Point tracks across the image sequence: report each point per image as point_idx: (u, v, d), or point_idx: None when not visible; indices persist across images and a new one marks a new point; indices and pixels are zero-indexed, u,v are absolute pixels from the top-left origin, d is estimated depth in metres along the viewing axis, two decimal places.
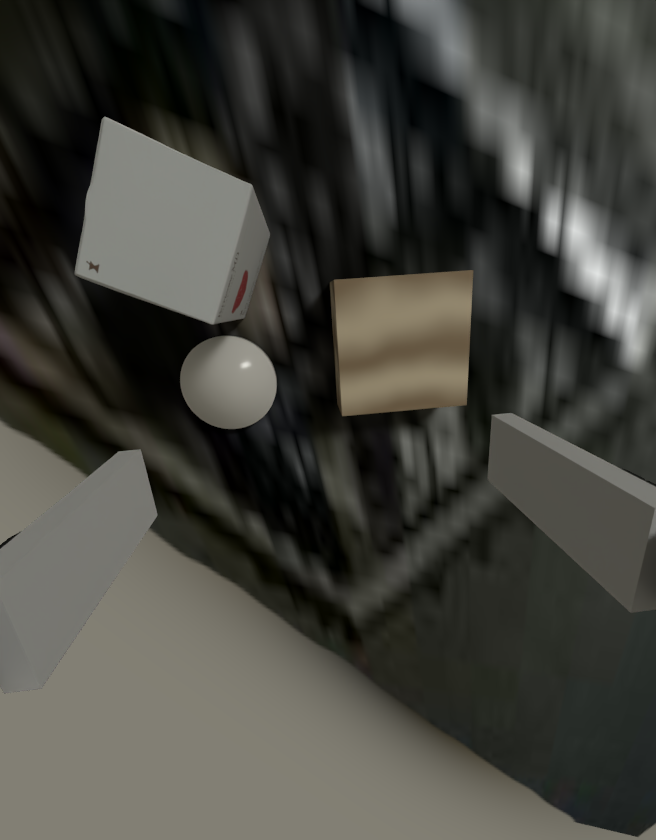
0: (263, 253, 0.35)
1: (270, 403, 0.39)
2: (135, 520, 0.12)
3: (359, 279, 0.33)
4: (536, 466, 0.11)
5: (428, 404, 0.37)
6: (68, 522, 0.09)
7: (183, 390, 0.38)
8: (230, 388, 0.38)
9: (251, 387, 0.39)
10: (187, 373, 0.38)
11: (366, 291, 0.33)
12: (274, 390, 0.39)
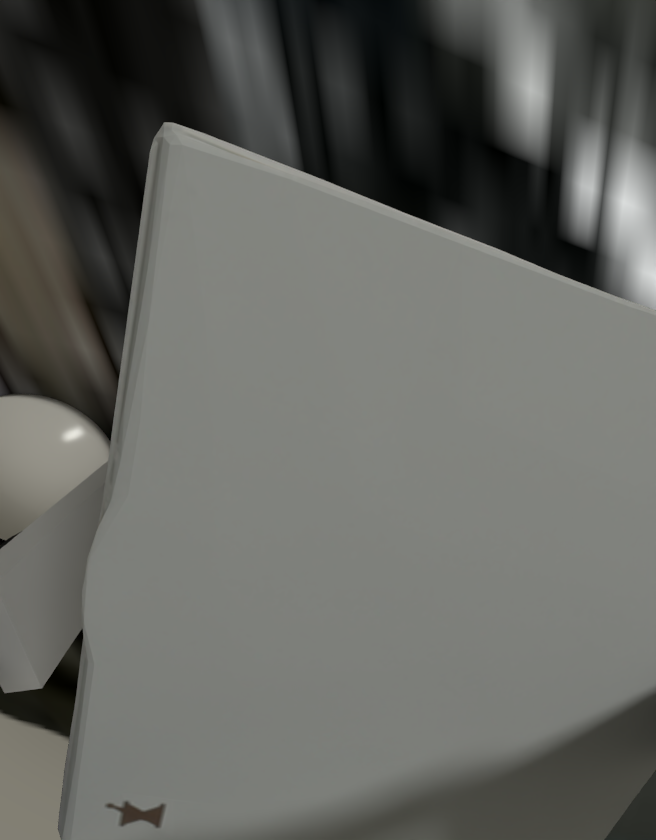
0: None
1: None
2: None
3: None
4: None
5: None
6: (69, 522, 0.09)
7: None
8: (31, 483, 0.22)
9: (68, 480, 0.22)
10: None
11: None
12: None
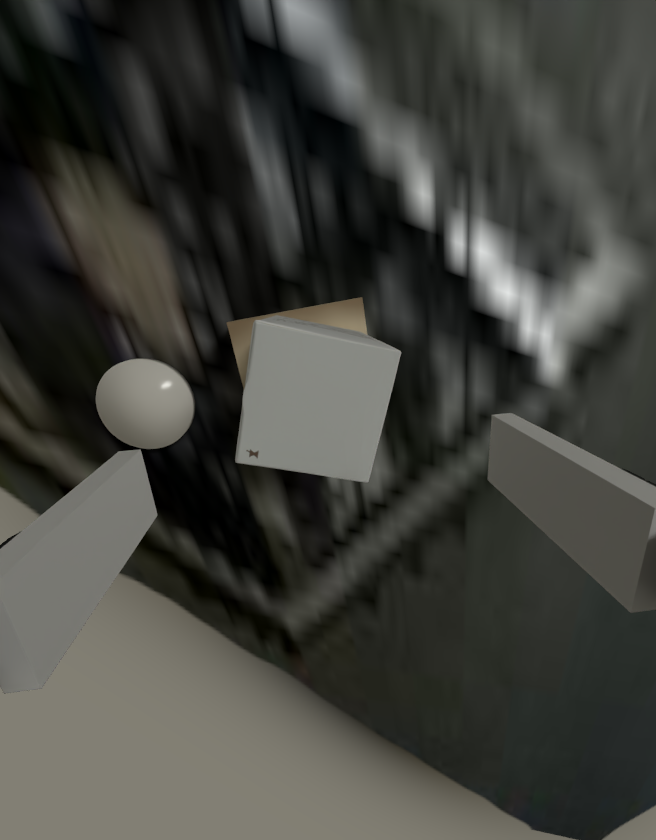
0: None
1: (187, 423, 0.40)
2: (135, 520, 0.12)
3: (251, 319, 0.34)
4: (536, 466, 0.11)
5: None
6: (68, 522, 0.09)
7: (100, 412, 0.39)
8: (147, 409, 0.39)
9: (167, 408, 0.39)
10: (102, 396, 0.38)
11: None
12: (190, 411, 0.40)
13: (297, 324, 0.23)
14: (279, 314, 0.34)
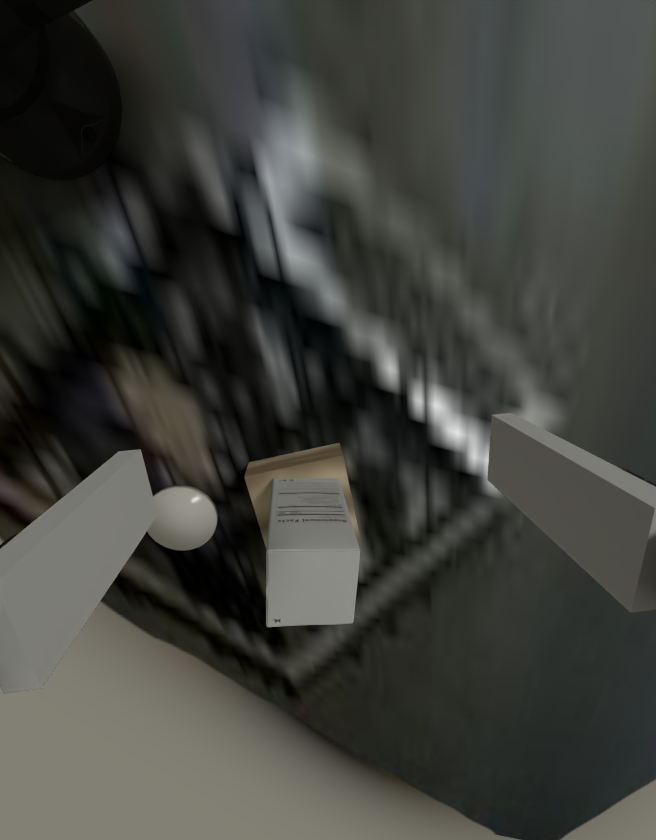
0: None
1: (212, 532, 0.52)
2: (135, 520, 0.12)
3: (262, 473, 0.47)
4: (536, 466, 0.11)
5: None
6: (68, 522, 0.09)
7: None
8: (181, 523, 0.51)
9: (197, 522, 0.52)
10: None
11: (269, 480, 0.47)
12: (215, 523, 0.52)
13: (292, 529, 0.36)
14: (282, 469, 0.47)
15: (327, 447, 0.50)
